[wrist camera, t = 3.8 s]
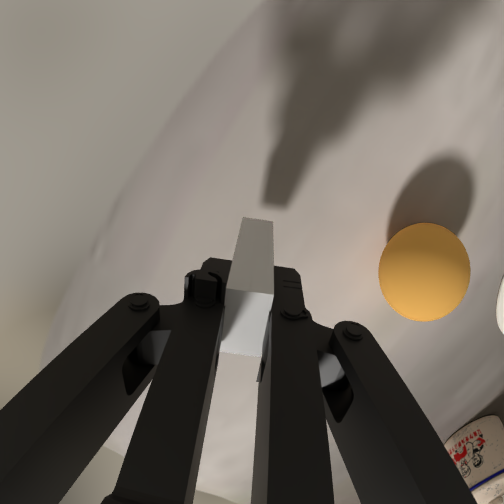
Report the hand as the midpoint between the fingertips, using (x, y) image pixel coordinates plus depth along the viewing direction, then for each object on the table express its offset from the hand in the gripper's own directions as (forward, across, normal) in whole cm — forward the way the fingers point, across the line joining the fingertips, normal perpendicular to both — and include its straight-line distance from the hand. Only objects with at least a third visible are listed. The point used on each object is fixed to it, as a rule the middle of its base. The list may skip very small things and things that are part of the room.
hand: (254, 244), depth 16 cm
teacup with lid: (+3, -31, +24) cm, 39 cm away
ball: (0, -10, 0) cm, 10 cm away
